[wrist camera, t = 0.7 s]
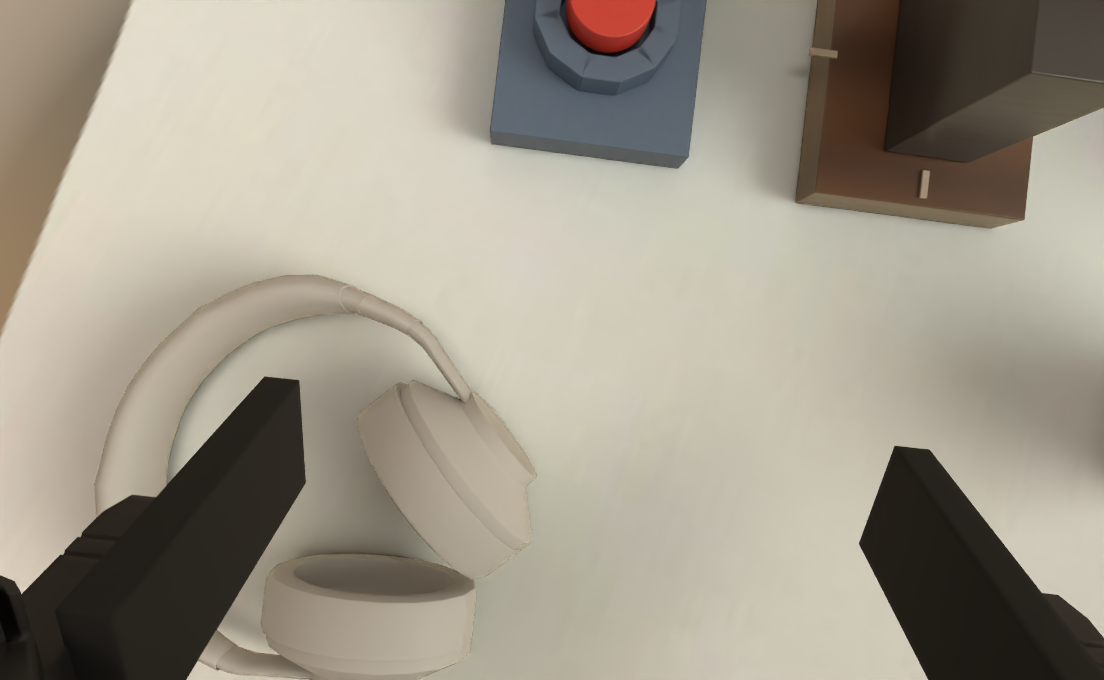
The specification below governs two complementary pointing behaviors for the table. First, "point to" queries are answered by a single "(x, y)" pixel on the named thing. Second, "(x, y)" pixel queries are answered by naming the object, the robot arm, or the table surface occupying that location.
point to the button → (609, 22)
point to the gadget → (991, 73)
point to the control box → (598, 85)
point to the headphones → (402, 467)
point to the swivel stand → (861, 125)
